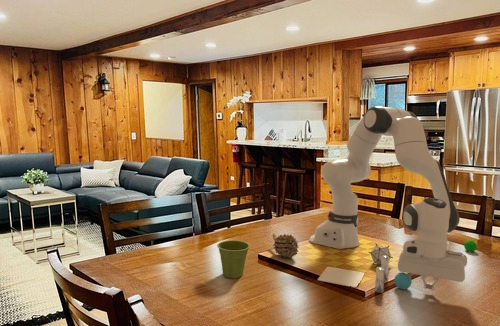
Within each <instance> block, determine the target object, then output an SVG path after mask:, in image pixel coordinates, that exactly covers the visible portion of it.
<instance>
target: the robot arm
mask: <svg viewBox="0 0 500 326" xmlns="http://www.w3.org/2000/svg"><path fill="white" fill-rule="evenodd" d="M353 130H354V131H353V132H352V134H351V136H350V138H349V139H348V141H347V143H346V148H347V151H348V155H347V156H346V157H345V158H338V159H333V160H330V161H327V162H325V163H324V164H323V166H322V168H321V176H322V179H323V180H324V182H326V183H327V185H328V186H329V188H330V190H331V194H332V196H331V197H332V209H331V210H329V212H328V213H327V219H326V220H324V221H323V222H322V223H320V224H319V225H318V226H317V227H316V229H315V232H314V234H311V236H310V238H309V242H310V243H312V244H314V245H315V244H316V245H320V246H326V247H328V248H329V247H330V248H334V249H338V250H340V249H341V250H342V249H349V248H350V249H351V248H357V247H358V246H360V244H361V243H360V241H359V235H358V232H359V231H358V227H359V213H358V207H359V206H358V204H359V203H358V202H359V198H358V195H357V194H356V193H354V192H353V190H352V186H351V185H352V183H359V182H362V181H364V180H366V179H368V178H369V177H370V175H371V171H372V168H371V165H370V163H369V162H370V158H371V155H372V154H373V151H374V150H375V148H376V147H377V145H378V143H379V142H380V140H381V138H382V136H386V137H392V138H393V142H394V153H395V158H396V161H397V163H398V164H399V165H400V166H401V167H402V168H404V169H405V170H406V171H409V172H411V173H414V174H417V175H419V176H421V177H423V178H424V179H426V181H428V182H429V184H430V188H431V192H432V194H433V197H425V198H424V199H422V200H421V201H420V202H417V203H415V202H414V203H411V204H410V203H409V204H407V205H406V206H405V207H404V209H403V211H402V217H401V218H402V224H403V225H404V226H405V228H406V229H408V230H409V231H412V232H417V233H418V236H417V239H412V240H411V239H410V240H406V241H405V242H404V243H403V245H402V250H401V251H400V255H399V258H398V262H397V270H398V271H399V273H401V272H403V273H406V274H413V275H416V276H418V275H419V276H421V278H420V279H421V280H422V282H423V284H424V287H423V288H424V289H425V290H427V289H428V290H432V291H435V286H436V285H437V283H438V282H439V279H441V280H442V279H443V280H446V281H447V280H448V281H453V282H458V283H462V282H464V281H465V279H466V273H465V272H466V270H465V267H466V266H467V264H468V257H467V255H465V254H464V253H463V252H460V251H459V252H458V251H453V250H448V251H447V241H448V237H447V236H448V233H452V232H453V231H454V230H455V229H456V228H458V227H457V226H458V225H459V223H460V214H459V211H458V209H457V207H456V205H455V203H454V201H453V199H452V195H451V193H450V189H449V187H448V183H447V180H446V177H445V174H444V171H443V168H442V167H441V164H440V163H439V161H438V160H437V159H436V158H434V157H433V155H432V154H431V152H430V150H429V148H428V141H427V138H426V132H425V130H424V127H423V124H422V122H421V120H420V119H419V118H418V116H417V115H416V114H415V113H414V112H412V111H410V110H404V109H401V108H398V107H387V106H382V105H377V106H372V107H370V108H368V109H367V110H366V112H365V114H364V115H363V117H362V118H361V119H360V120H359V121H358V124H357V125H356V126H355V129H353ZM427 277H429V278H433V281H432V282H430V281H427V280H426V279H427Z"/></svg>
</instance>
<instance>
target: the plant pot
mask: <svg viewBox="0 0 500 326" xmlns="http://www.w3.org/2000/svg"><path fill="white" fill-rule="evenodd" d="M250 247H251V246H250V243H248V242H246V241H242V240H235V239H233V240H230V239H229V240H223V241H220V242H218V243H217V247H216V248H218V252H219V256H220V262H221V271H222V275H223V277H225V278H228V279H229V278H231V279H237V278H241V277H242V276H243V275H244V269H245V266H246V259H247V255H248V251H249V249H250Z"/></svg>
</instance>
